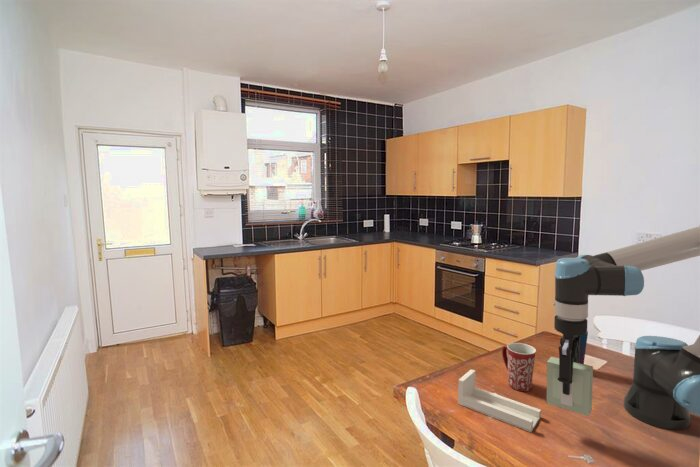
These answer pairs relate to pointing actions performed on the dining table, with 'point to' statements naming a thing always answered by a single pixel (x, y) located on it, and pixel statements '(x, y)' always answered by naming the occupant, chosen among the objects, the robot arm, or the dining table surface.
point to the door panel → (580, 386)
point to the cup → (583, 347)
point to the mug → (519, 365)
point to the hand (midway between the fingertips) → (568, 399)
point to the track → (496, 404)
